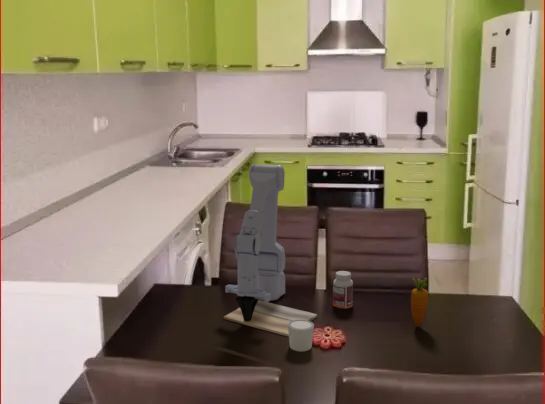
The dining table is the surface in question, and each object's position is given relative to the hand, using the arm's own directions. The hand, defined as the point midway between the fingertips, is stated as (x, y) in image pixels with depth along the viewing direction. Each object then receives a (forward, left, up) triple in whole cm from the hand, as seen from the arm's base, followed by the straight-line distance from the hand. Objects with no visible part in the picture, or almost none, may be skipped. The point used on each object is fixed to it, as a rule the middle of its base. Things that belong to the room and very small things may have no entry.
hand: (247, 320), depth 176 cm
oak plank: (-2, +4, -2) cm, 5 cm away
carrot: (-26, +42, -2) cm, 49 cm away
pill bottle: (-28, +17, -2) cm, 32 cm away
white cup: (+5, +21, -2) cm, 21 cm away
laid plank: (-11, +4, -1) cm, 11 cm away
